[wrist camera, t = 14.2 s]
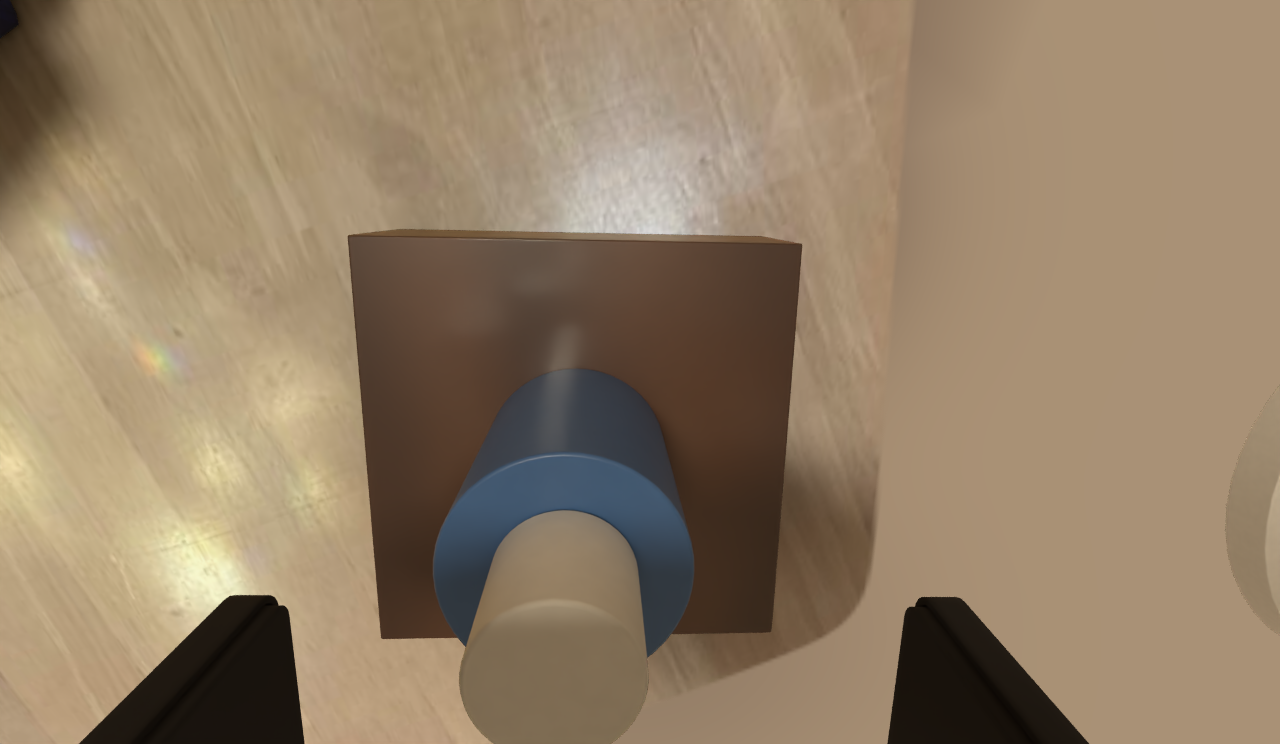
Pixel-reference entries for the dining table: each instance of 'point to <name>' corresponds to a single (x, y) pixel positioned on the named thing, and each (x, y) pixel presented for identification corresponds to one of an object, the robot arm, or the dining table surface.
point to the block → (577, 339)
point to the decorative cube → (7, 17)
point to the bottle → (564, 562)
